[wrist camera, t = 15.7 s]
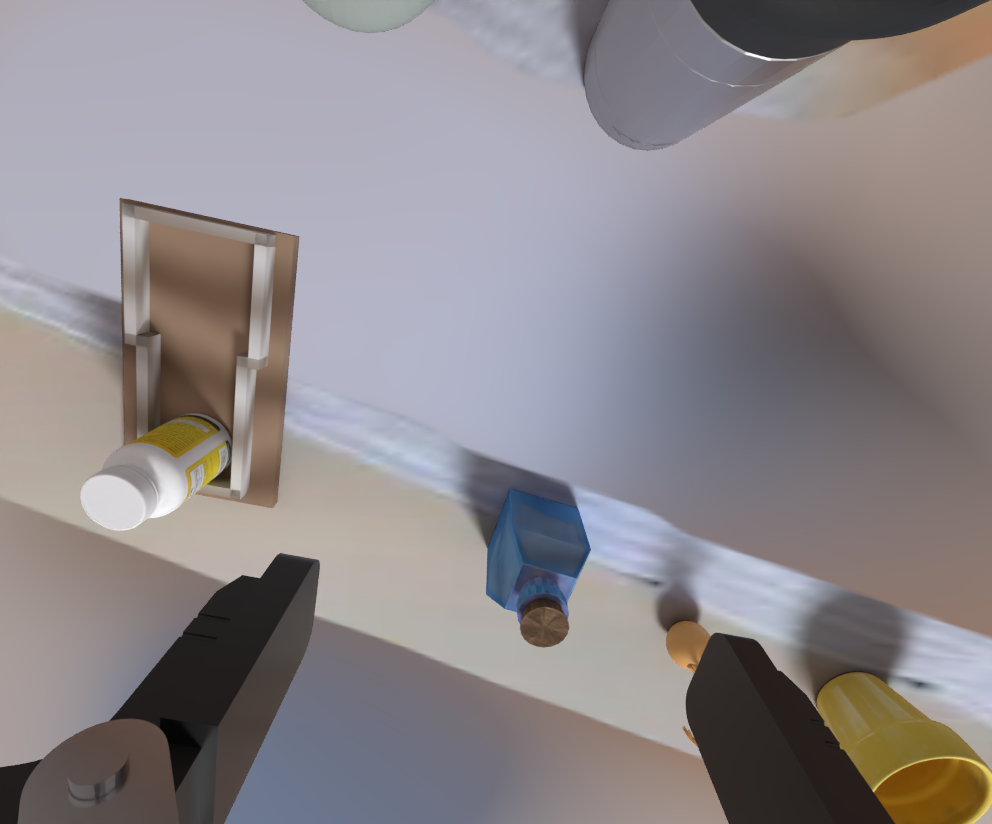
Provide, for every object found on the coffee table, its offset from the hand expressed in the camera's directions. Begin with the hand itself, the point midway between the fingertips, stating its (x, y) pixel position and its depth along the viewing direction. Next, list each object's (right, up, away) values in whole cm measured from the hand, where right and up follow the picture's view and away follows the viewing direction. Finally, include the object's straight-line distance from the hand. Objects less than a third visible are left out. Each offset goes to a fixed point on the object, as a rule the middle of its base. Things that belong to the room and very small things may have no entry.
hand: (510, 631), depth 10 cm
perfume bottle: (+3, -6, +34) cm, 34 cm away
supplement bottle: (-24, +2, +30) cm, 39 cm away
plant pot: (+35, -24, +39) cm, 58 cm away
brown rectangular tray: (-23, +8, +29) cm, 38 cm away
